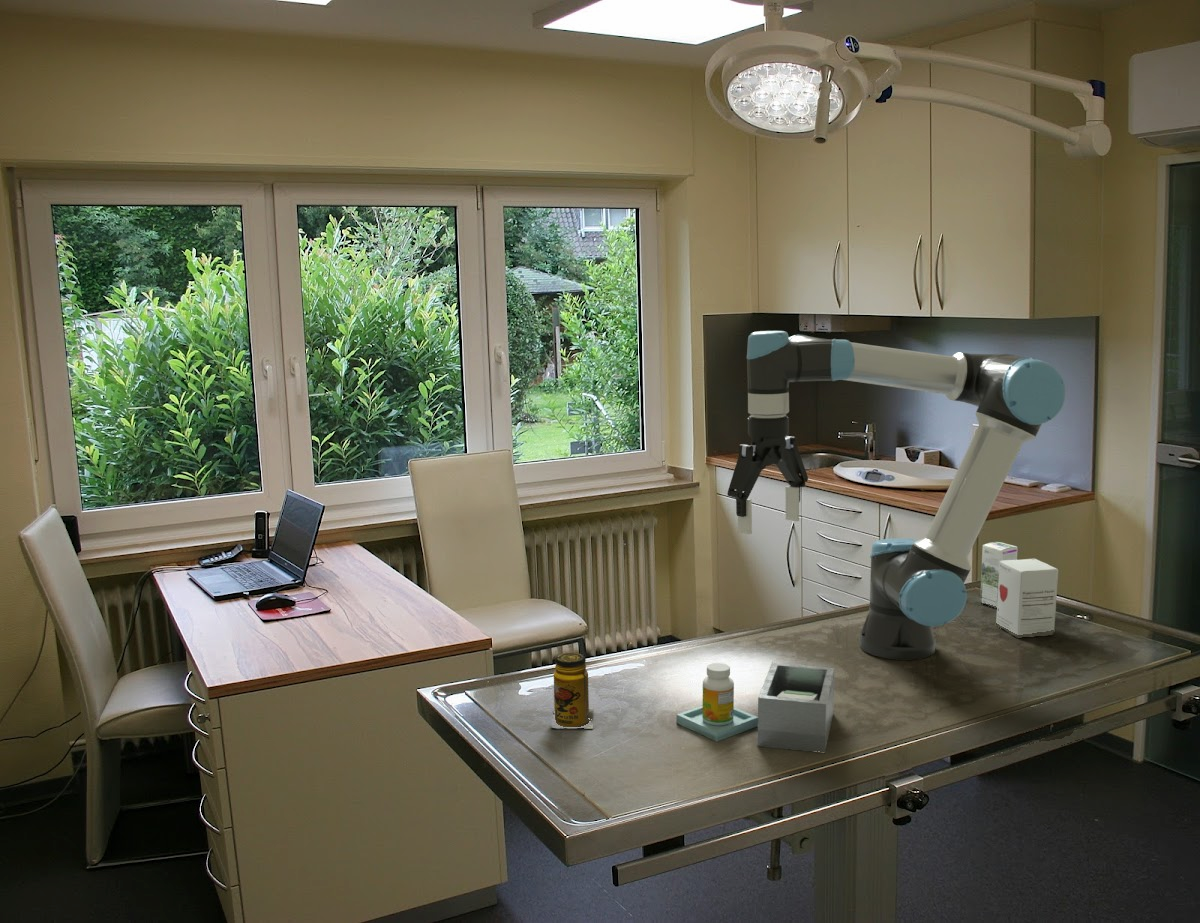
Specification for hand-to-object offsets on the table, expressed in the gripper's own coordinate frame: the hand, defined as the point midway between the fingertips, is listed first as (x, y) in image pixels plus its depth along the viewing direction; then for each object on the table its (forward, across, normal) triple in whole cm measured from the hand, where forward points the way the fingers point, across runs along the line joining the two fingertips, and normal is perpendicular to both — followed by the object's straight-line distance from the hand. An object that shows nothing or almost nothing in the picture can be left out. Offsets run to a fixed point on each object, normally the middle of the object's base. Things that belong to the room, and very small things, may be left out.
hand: (769, 526), depth 209 cm
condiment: (+29, +41, -10) cm, 52 cm away
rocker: (+25, +15, +19) cm, 35 cm away
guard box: (+30, +15, +19) cm, 39 cm away
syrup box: (+32, -74, +5) cm, 81 cm away
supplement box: (+32, -62, +19) cm, 72 cm away
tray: (+30, +24, +8) cm, 39 cm away
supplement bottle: (+29, +24, +9) cm, 39 cm away
